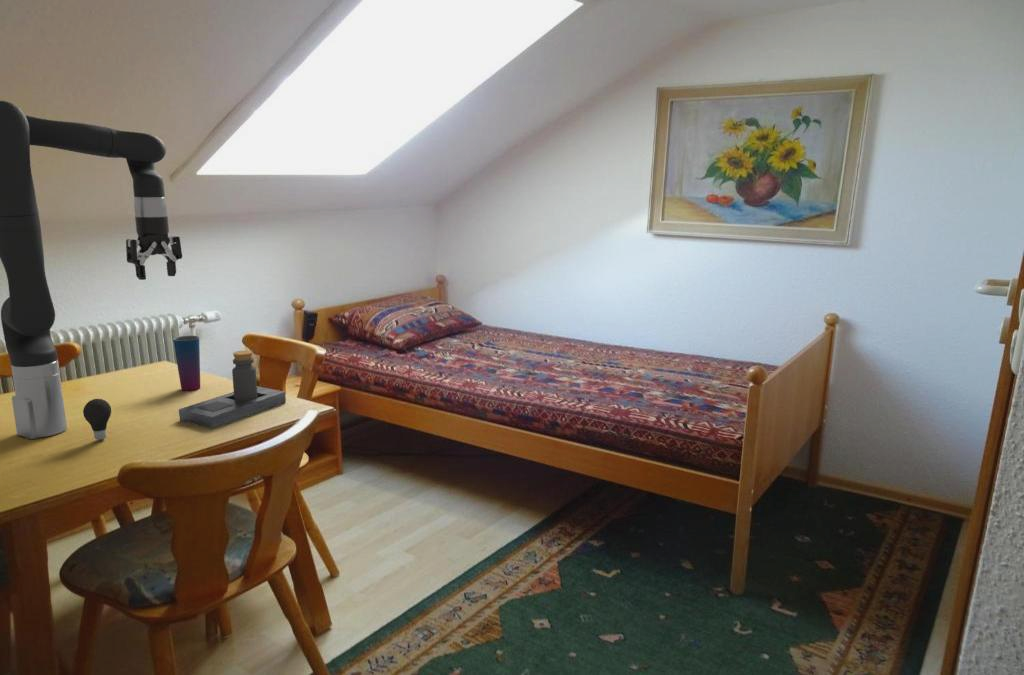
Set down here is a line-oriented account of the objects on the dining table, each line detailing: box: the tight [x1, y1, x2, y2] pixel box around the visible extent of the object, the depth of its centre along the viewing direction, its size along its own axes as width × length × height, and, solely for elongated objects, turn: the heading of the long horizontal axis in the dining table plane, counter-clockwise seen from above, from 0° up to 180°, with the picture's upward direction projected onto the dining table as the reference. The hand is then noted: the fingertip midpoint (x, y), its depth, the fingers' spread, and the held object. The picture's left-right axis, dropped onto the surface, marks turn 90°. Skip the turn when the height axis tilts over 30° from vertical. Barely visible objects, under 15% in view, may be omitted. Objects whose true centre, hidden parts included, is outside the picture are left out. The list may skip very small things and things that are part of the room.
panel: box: [178, 385, 287, 430], centre depth 187 cm, size 24×12×3 cm, turn 152°
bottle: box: [231, 349, 258, 402], centre depth 189 cm, size 6×6×15 cm
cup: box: [173, 335, 201, 392], centre depth 205 cm, size 7×7×15 cm
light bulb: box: [82, 398, 112, 442], centre depth 165 cm, size 6×6×10 cm
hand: (157, 277), depth 187 cm, fingers open, 8 cm apart
